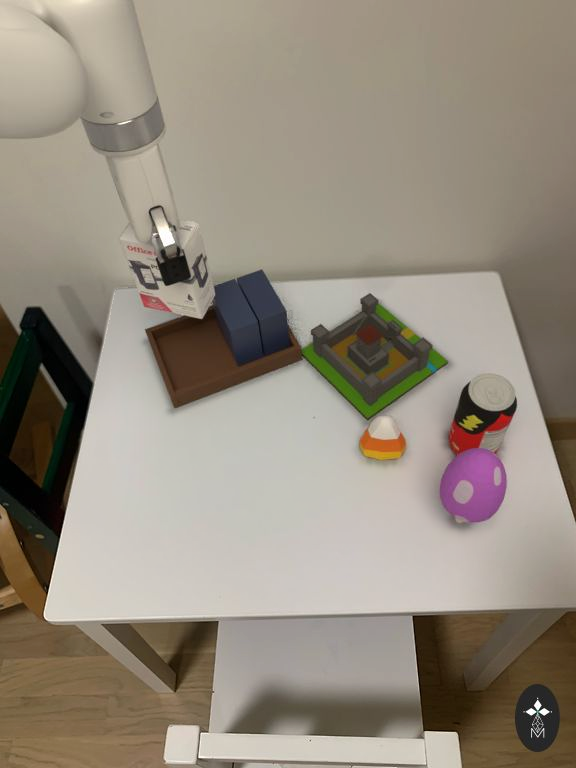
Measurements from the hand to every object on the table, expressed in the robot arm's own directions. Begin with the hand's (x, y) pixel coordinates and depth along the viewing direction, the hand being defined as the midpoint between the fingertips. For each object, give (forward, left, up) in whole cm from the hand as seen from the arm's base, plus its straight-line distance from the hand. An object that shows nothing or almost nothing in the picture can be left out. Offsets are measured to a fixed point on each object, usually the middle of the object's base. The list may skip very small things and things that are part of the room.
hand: (166, 254), depth 71 cm
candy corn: (+17, -25, -21) cm, 37 cm away
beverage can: (+28, -29, -21) cm, 45 cm away
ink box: (0, 0, -8) cm, 8 cm away
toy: (+21, -37, -21) cm, 47 cm away
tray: (+4, 0, -21) cm, 21 cm away
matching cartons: (+9, 0, -20) cm, 22 cm away
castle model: (+23, -11, -21) cm, 33 cm away
